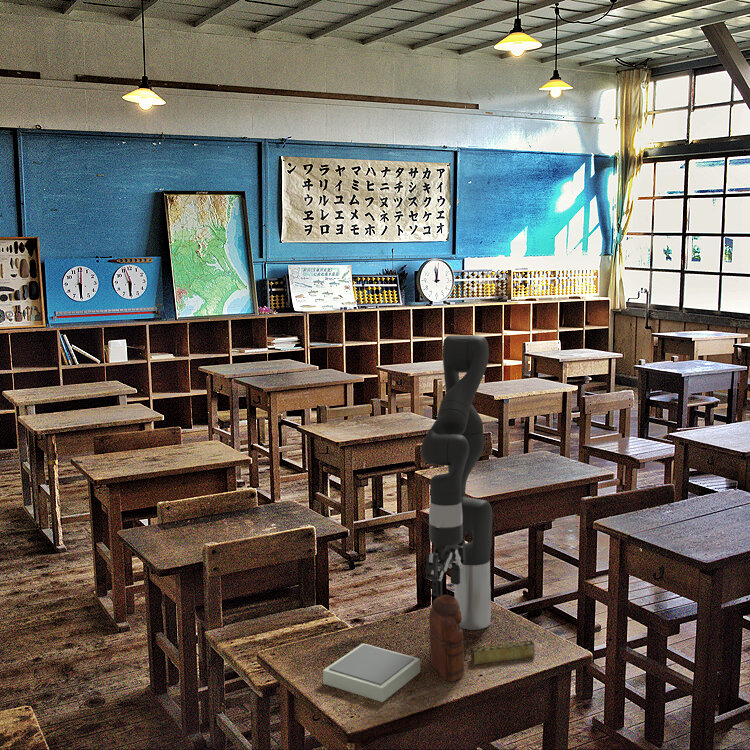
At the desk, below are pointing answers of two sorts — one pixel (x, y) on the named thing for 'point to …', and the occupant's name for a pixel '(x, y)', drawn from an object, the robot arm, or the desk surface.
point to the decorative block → (502, 652)
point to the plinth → (371, 672)
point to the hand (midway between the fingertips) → (446, 589)
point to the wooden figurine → (446, 638)
